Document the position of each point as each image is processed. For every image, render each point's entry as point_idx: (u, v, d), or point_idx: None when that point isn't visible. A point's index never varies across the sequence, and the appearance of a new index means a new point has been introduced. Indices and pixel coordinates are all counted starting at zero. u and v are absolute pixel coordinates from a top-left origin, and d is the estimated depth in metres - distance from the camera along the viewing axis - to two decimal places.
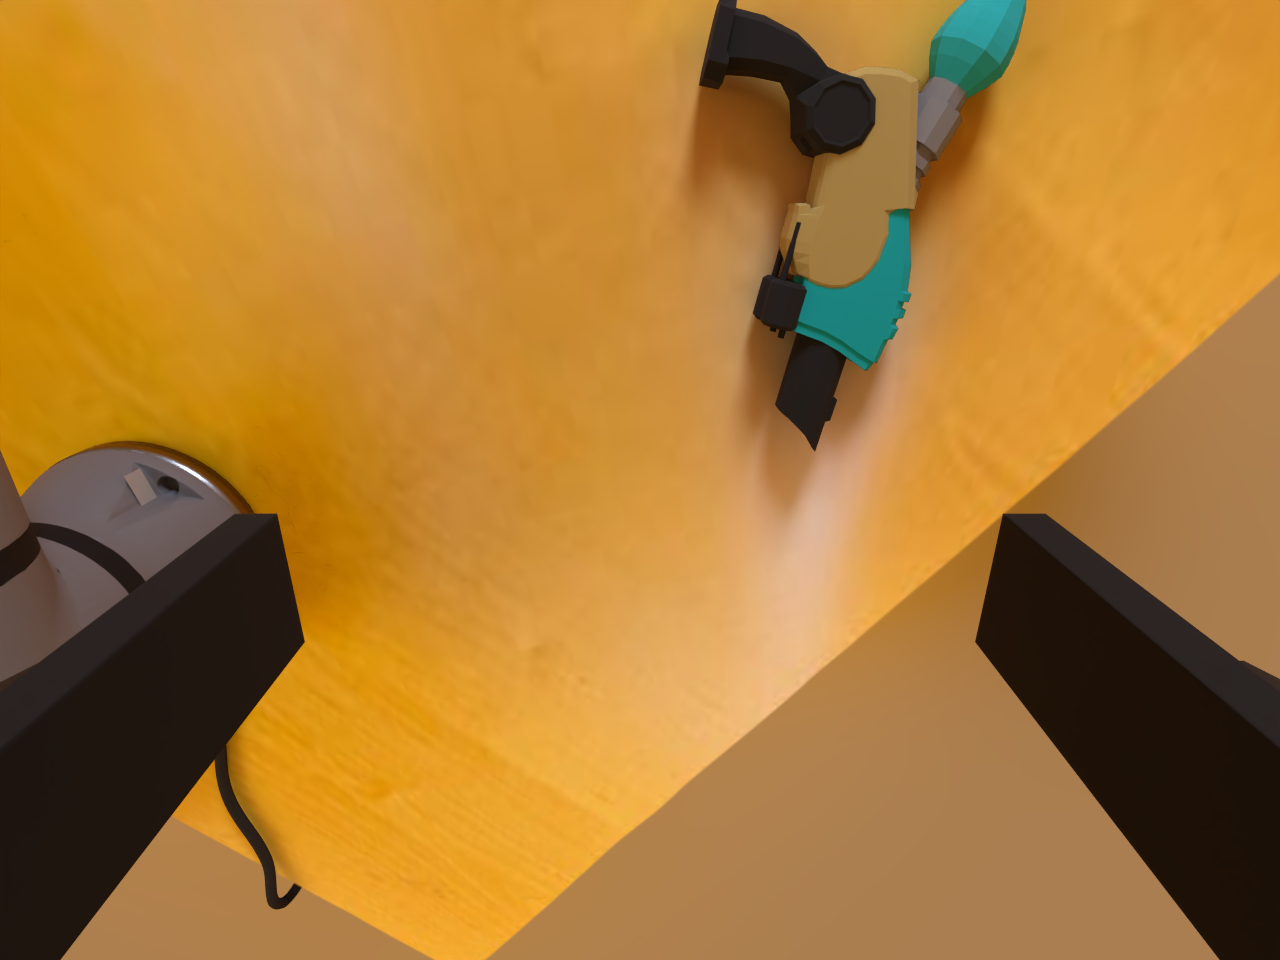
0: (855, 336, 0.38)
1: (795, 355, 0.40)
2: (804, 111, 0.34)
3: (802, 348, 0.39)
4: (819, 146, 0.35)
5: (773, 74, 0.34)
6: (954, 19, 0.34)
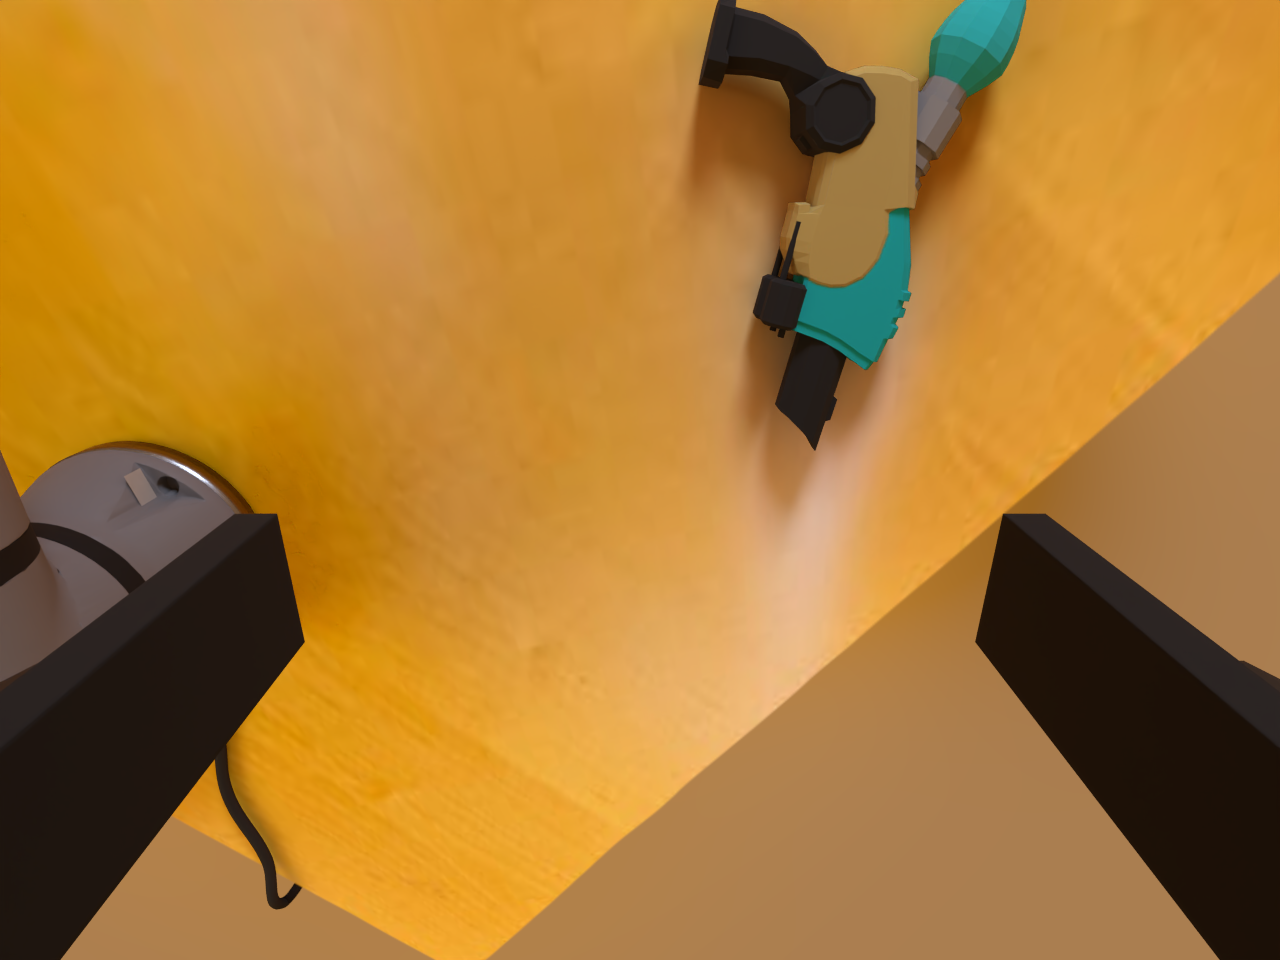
0: (855, 336, 0.38)
1: (795, 354, 0.40)
2: (804, 110, 0.34)
3: (802, 347, 0.39)
4: (819, 146, 0.35)
5: (773, 73, 0.34)
6: (954, 18, 0.34)
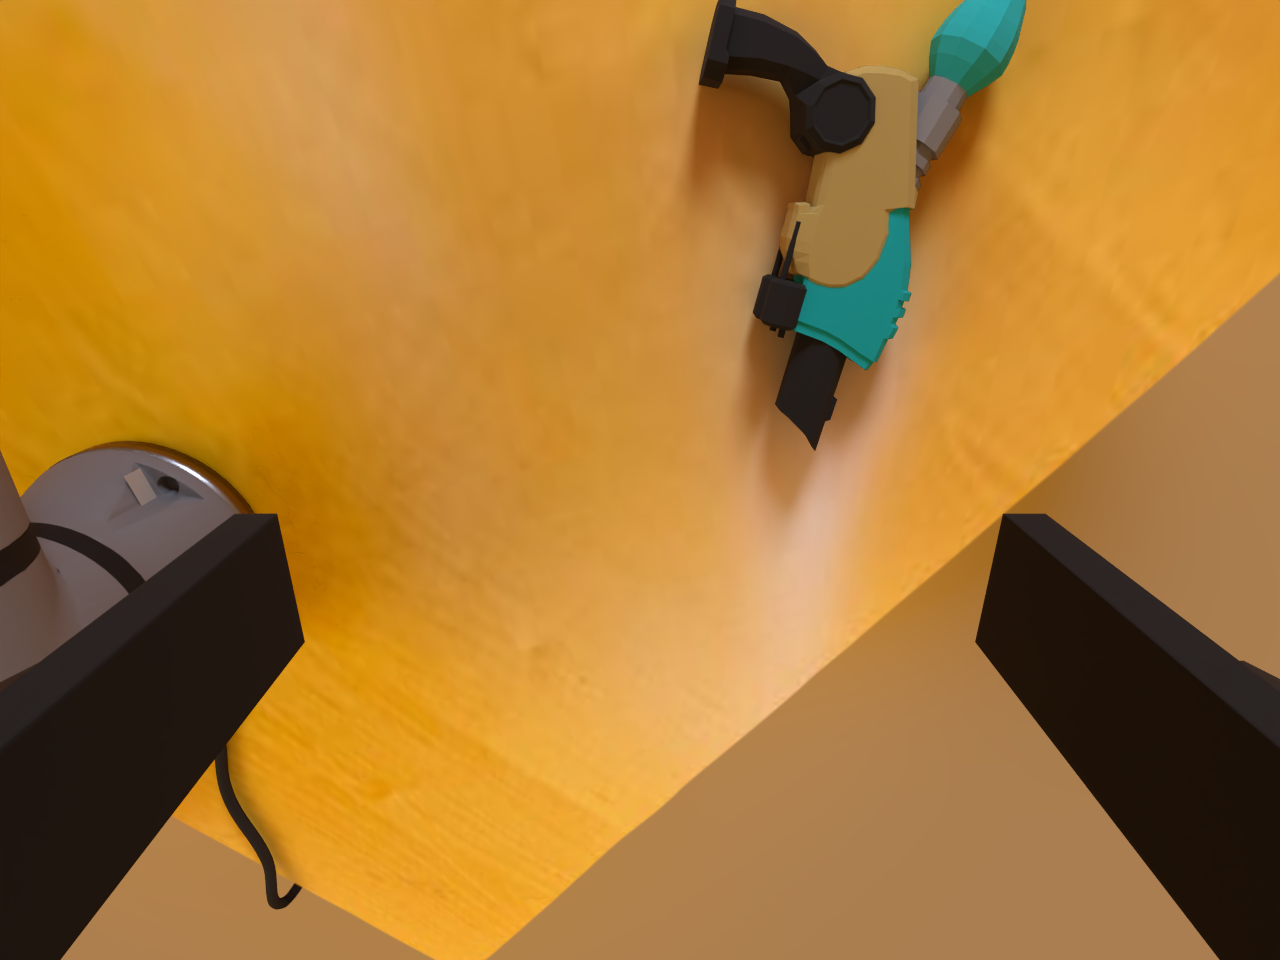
0: (855, 336, 0.38)
1: (795, 354, 0.40)
2: (804, 110, 0.34)
3: (802, 347, 0.39)
4: (819, 146, 0.35)
5: (773, 73, 0.34)
6: (954, 18, 0.34)
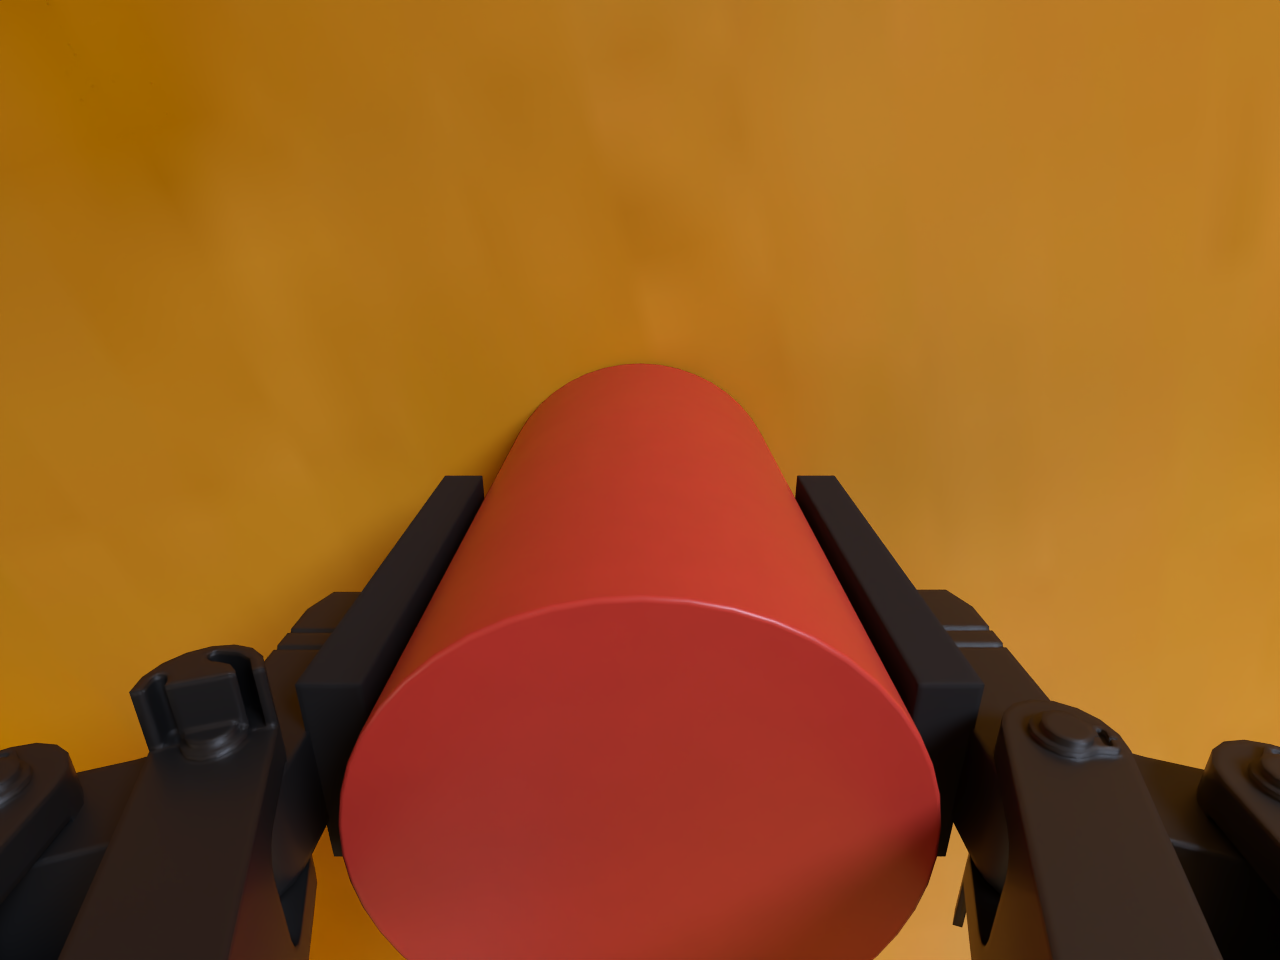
0: None
1: None
2: None
3: None
4: None
5: None
6: None
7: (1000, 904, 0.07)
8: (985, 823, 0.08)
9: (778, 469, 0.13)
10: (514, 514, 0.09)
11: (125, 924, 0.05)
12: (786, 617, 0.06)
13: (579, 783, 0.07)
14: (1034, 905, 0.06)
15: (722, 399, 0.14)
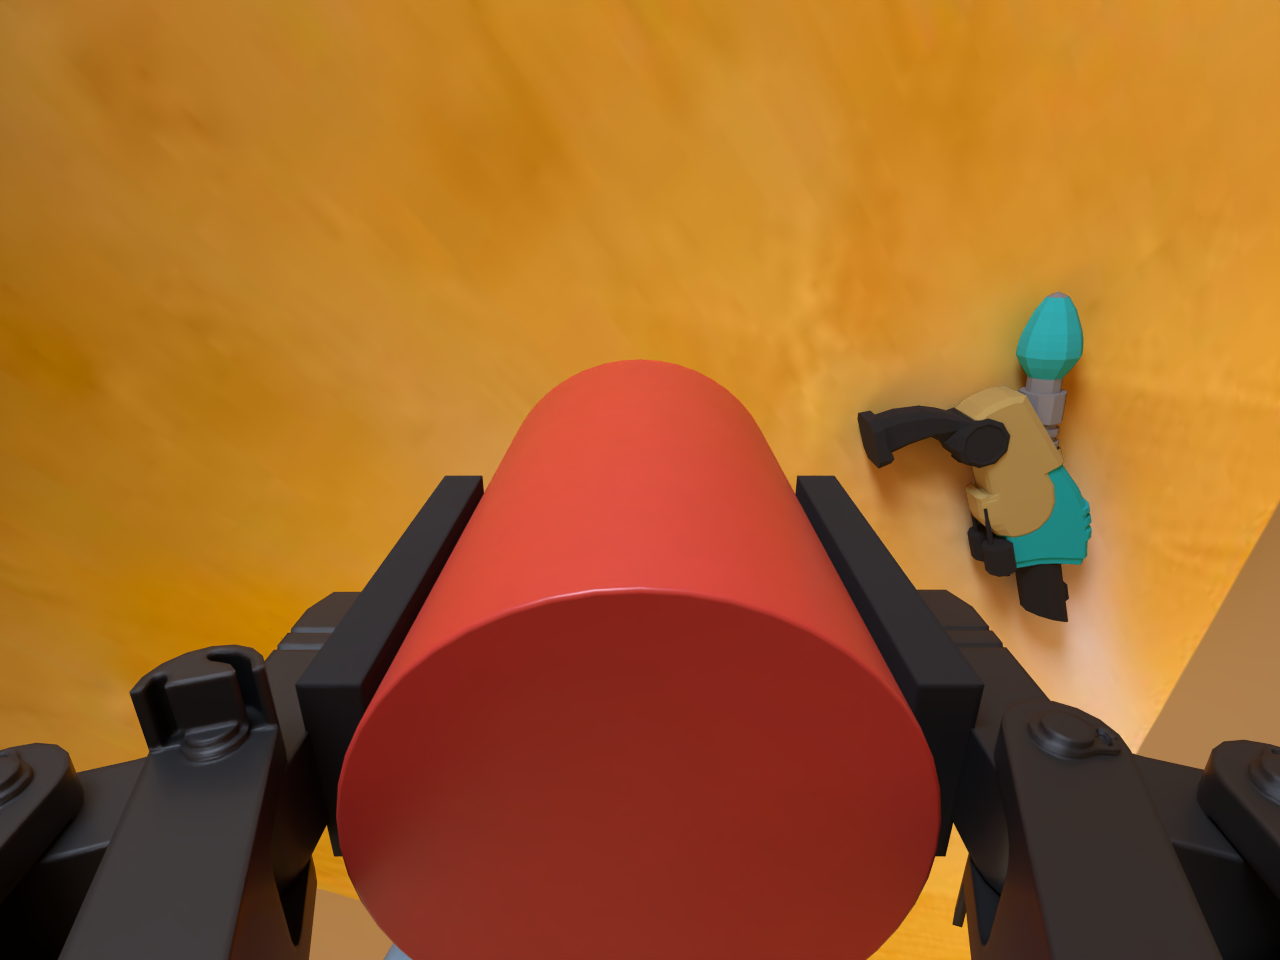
0: (1062, 550, 0.50)
1: (1021, 575, 0.52)
2: (956, 451, 0.48)
3: (1025, 570, 0.52)
4: (979, 467, 0.48)
5: (922, 439, 0.48)
6: (1029, 345, 0.46)
7: (1000, 904, 0.07)
8: (985, 823, 0.08)
9: (778, 465, 0.13)
10: (513, 507, 0.09)
11: (125, 924, 0.05)
12: (786, 609, 0.06)
13: (578, 777, 0.07)
14: (1034, 905, 0.06)
15: (722, 395, 0.14)
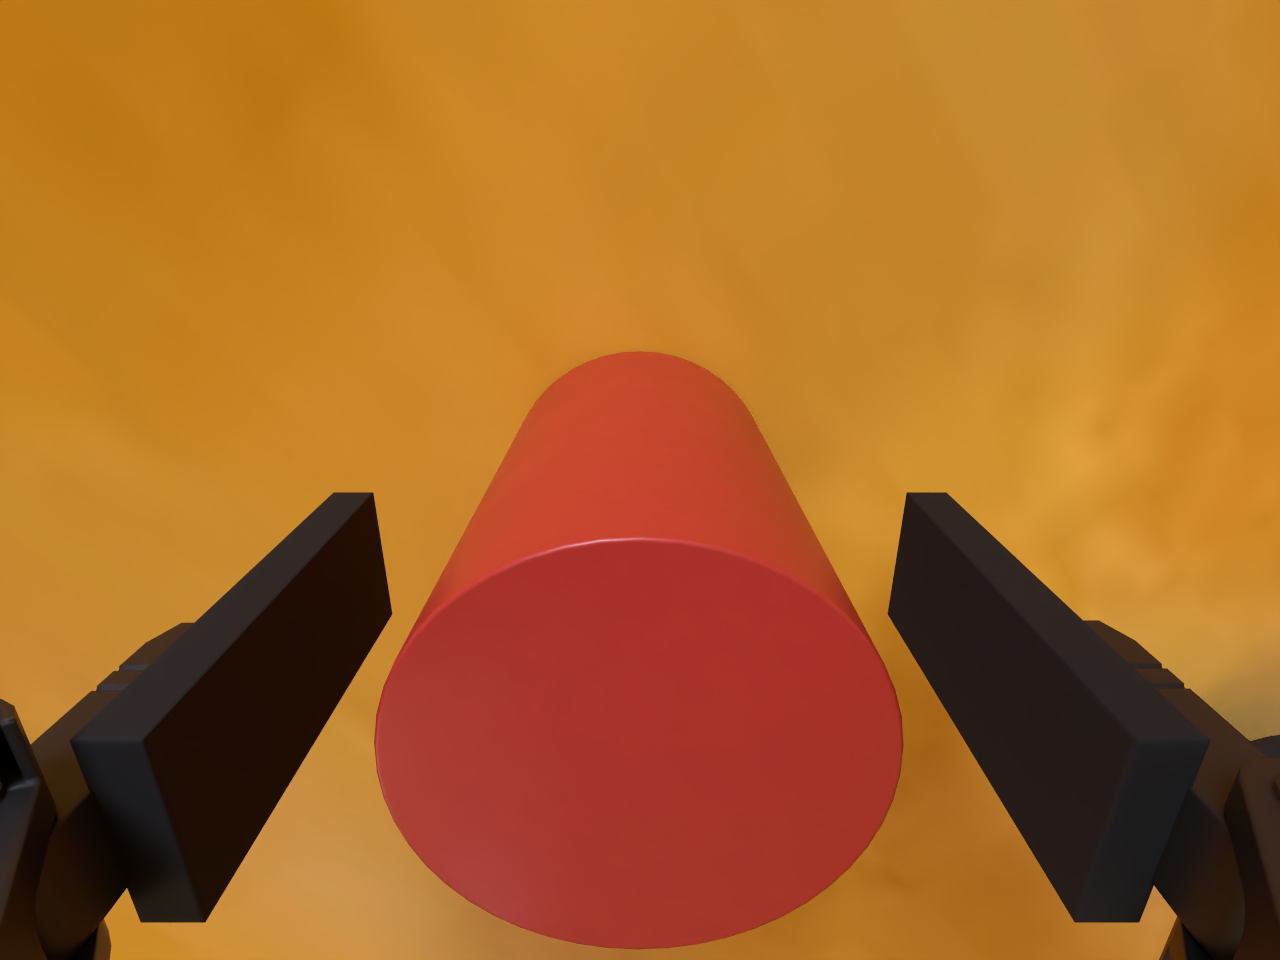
0: None
1: None
2: None
3: None
4: None
5: None
6: None
7: None
8: (1213, 896, 0.07)
9: (767, 447, 0.14)
10: (526, 479, 0.10)
11: None
12: (765, 557, 0.07)
13: (586, 706, 0.08)
14: None
15: (716, 384, 0.15)
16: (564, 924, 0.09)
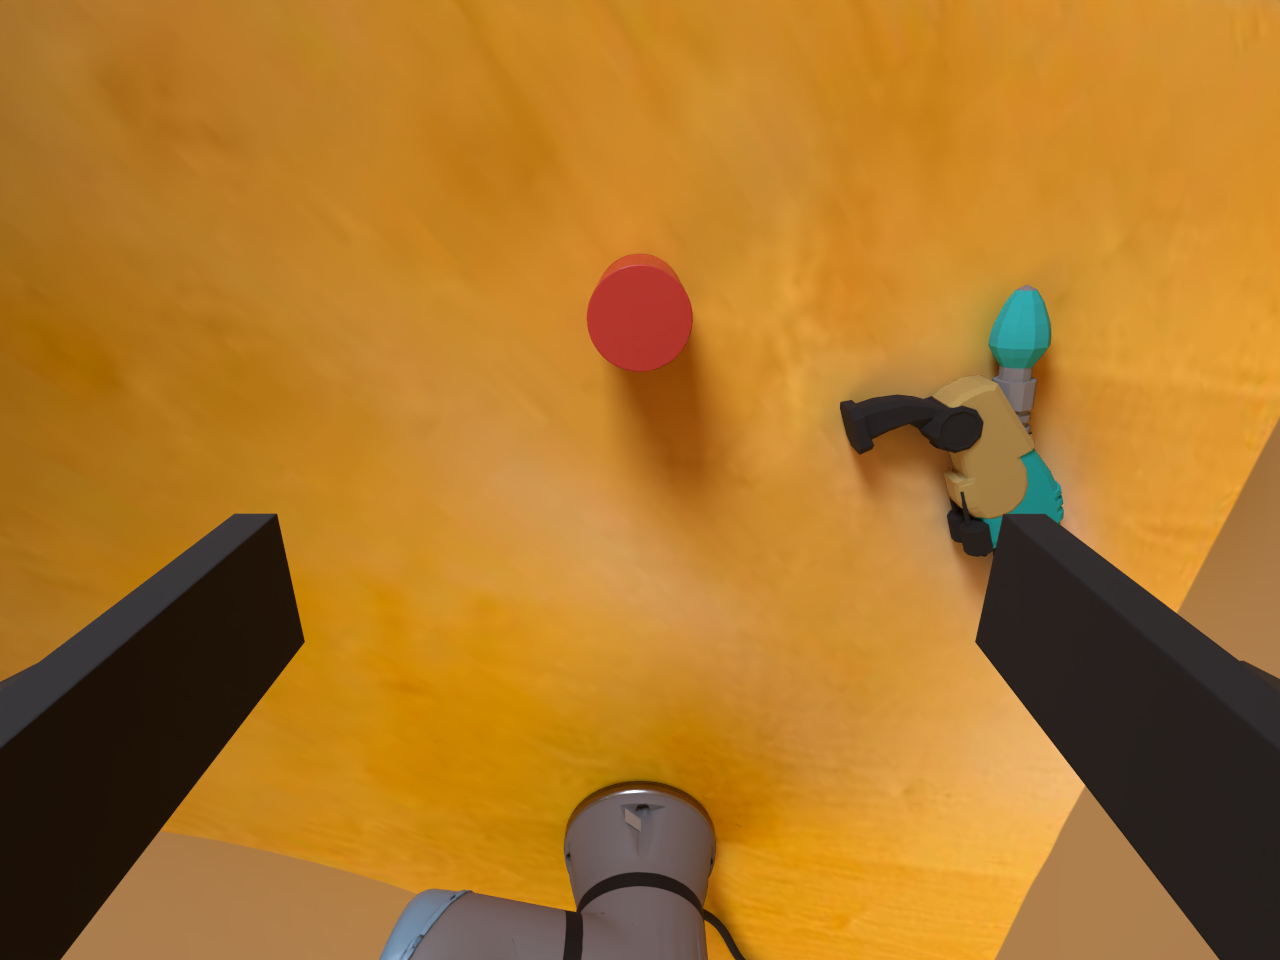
0: None
1: None
2: (933, 437, 0.51)
3: None
4: (954, 452, 0.50)
5: (900, 426, 0.51)
6: (1000, 336, 0.49)
7: None
8: None
9: (677, 277, 0.47)
10: (614, 268, 0.43)
11: None
12: (662, 269, 0.40)
13: (629, 302, 0.41)
14: None
15: (664, 262, 0.48)
16: (623, 363, 0.42)
